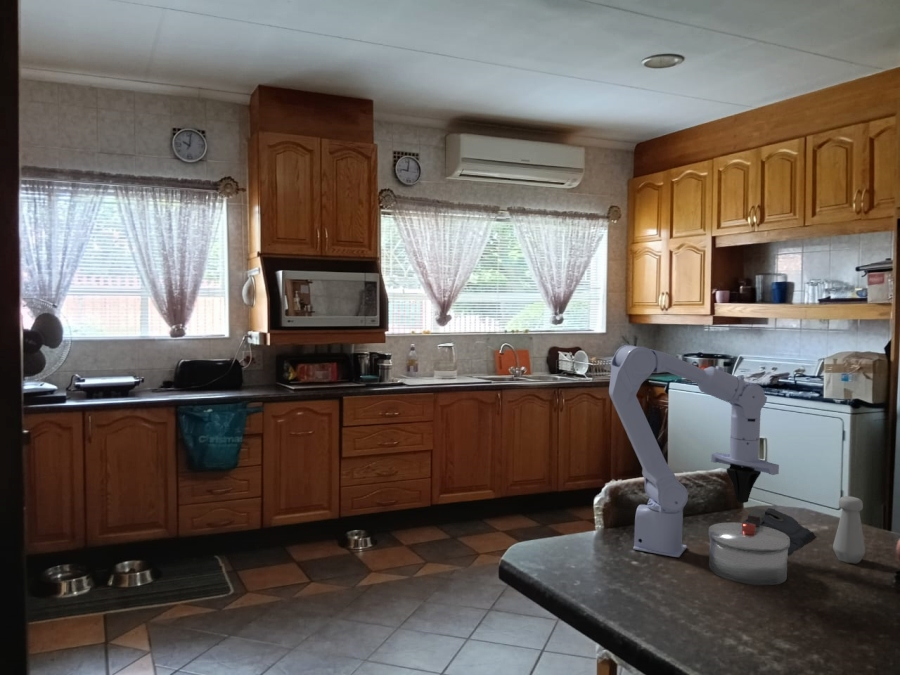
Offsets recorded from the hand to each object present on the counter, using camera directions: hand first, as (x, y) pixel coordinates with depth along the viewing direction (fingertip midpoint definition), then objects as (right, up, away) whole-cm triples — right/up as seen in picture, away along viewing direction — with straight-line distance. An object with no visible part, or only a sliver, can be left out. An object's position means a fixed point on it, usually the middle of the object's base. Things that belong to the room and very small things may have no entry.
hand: (742, 501), depth 152 cm
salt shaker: (+20, -11, -4) cm, 23 cm away
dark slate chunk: (+10, -11, +10) cm, 18 cm away
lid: (-3, -4, -10) cm, 11 cm away
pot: (-3, -11, -10) cm, 15 cm away
